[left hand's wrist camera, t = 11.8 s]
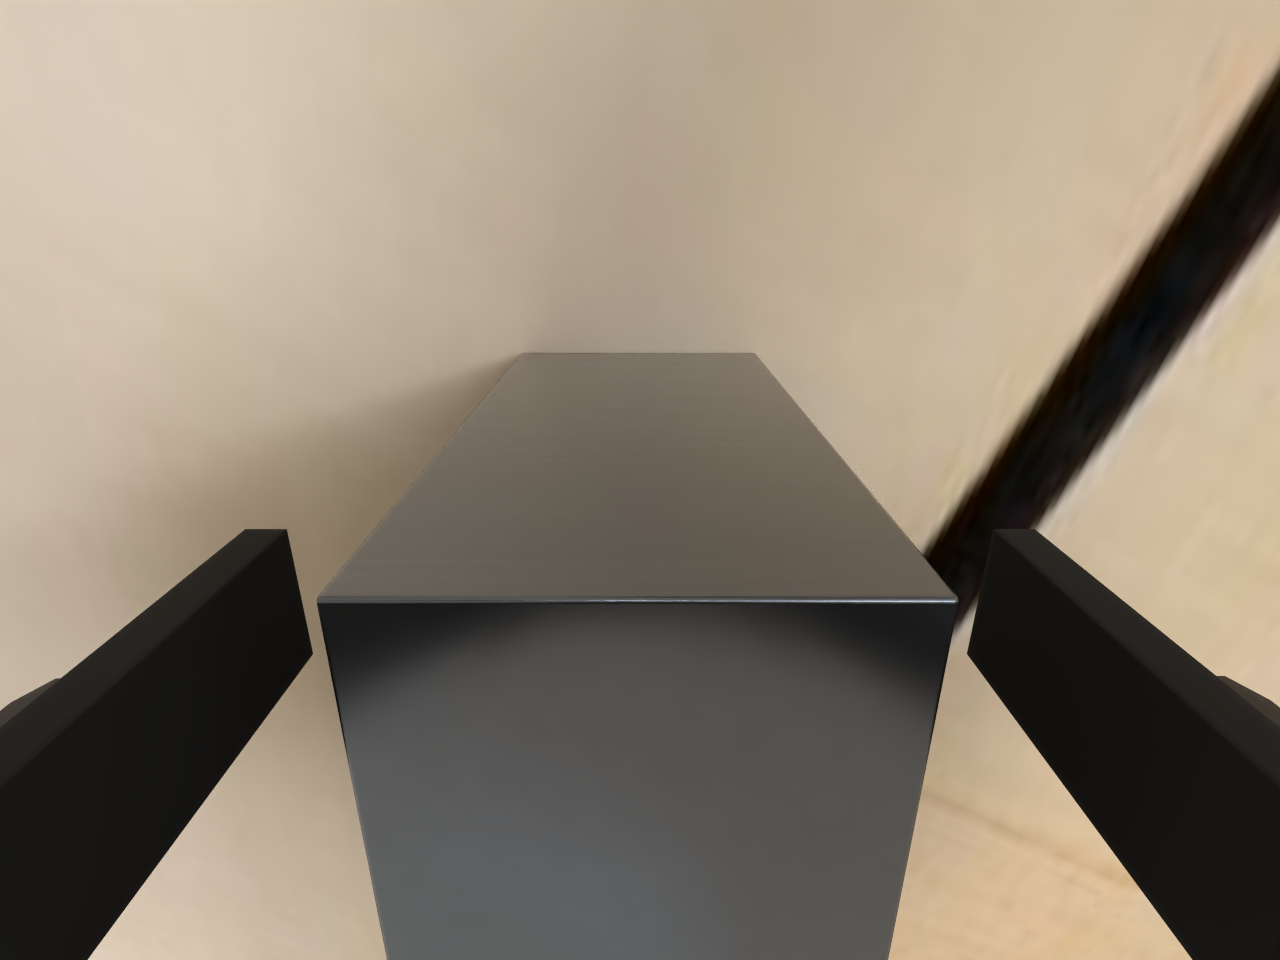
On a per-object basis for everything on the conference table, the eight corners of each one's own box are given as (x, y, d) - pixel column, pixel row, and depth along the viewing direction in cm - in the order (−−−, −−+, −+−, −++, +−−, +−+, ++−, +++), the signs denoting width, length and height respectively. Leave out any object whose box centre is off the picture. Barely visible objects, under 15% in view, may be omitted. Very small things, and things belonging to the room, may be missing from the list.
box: (521, 352, 18) (312, 598, 6) (755, 352, 18) (963, 598, 6) (555, 915, 25) (488, 1483, 14) (720, 915, 25) (786, 1481, 14)
